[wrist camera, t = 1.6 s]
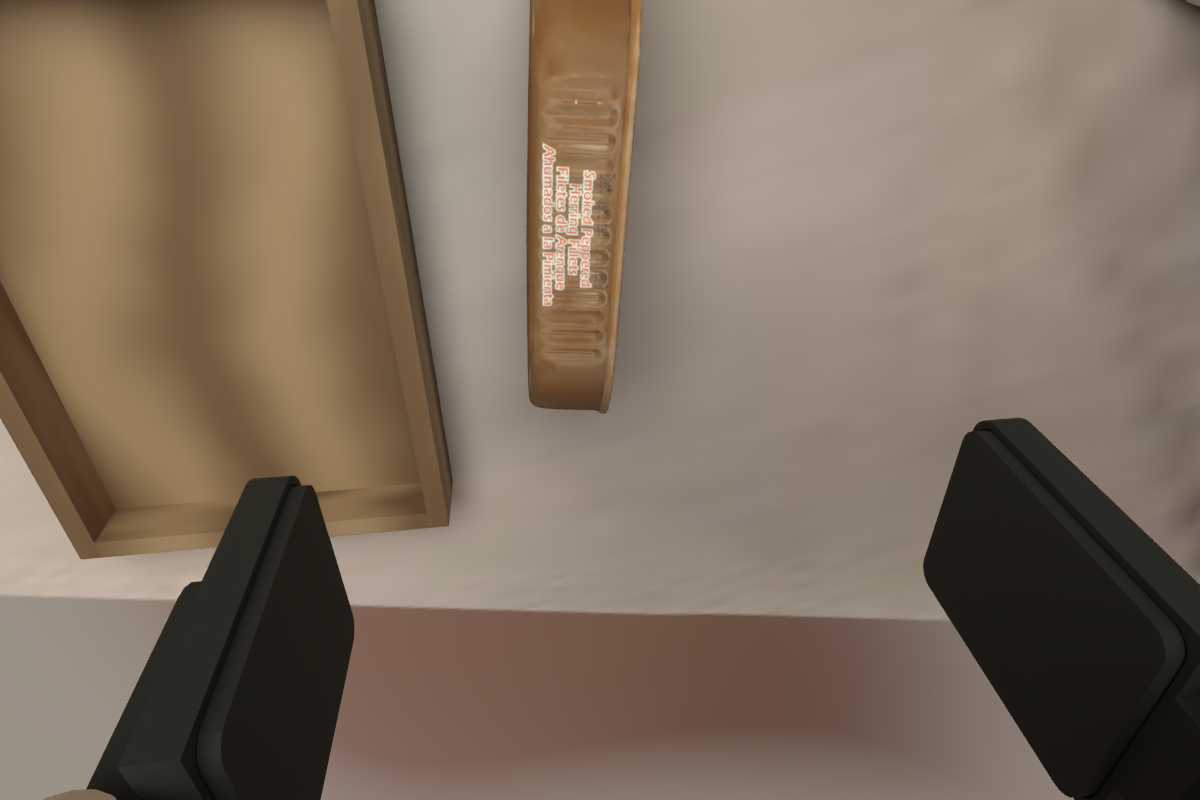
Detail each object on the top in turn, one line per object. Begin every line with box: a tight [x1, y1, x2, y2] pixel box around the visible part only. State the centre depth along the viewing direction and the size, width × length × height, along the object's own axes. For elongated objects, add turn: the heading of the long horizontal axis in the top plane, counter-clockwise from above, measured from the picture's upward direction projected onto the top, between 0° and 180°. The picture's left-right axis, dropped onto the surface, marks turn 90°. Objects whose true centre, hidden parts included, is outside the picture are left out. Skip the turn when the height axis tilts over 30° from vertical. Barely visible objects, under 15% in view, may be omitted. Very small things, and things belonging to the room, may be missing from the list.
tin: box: [527, 0, 642, 414], centre depth 22 cm, size 15×3×8 cm, turn 177°
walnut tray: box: [0, 0, 452, 559], centre depth 25 cm, size 15×21×3 cm
